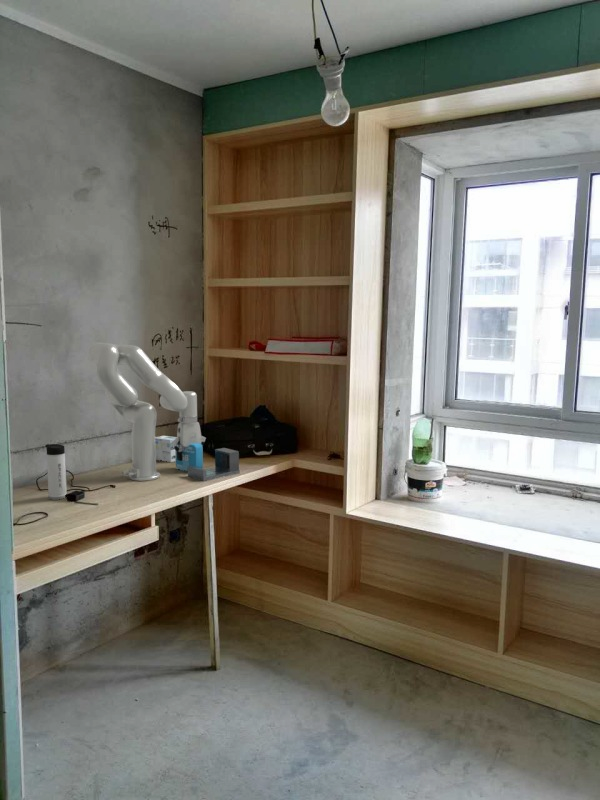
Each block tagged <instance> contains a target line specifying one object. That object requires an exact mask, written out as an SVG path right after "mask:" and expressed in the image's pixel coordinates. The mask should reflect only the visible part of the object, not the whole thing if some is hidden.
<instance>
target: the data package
mask: <svg viewBox="0 0 600 800" xmlns="http://www.w3.org/2000/svg"><path fill="white" fill-rule="evenodd" d="M176 446H178V445H177V443H176ZM203 449H204V448H203V446H202V445H201V444H200V443H196V444H190V445H189V447H183V449H182V451H181V452H182V455H183V460H182V461H179V460H177V451H175V457H176V461H175V468H176V469H177V470H178V469H180V470H179V471H184V470H185V472H188V466H189V465H192V466H195V467H198V468H202V469H204V463H203V462H204V457H203V453H204V451H203Z"/></svg>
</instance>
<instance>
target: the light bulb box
mask: <svg viewBox="0 0 600 800" xmlns="http://www.w3.org/2000/svg"><path fill="white" fill-rule="evenodd" d="M176 438H177V436H169V435H161V436H155V447H156V461H160V460H162V461H161V462H166V461H167V462H168V463H175V462H176V457H175V449H174V448H173V446H172V444H171V442H173V441H174V440H175V439H176ZM167 462H166V463H167Z"/></svg>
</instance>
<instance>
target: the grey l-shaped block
mask: <svg viewBox="0 0 600 800" xmlns="http://www.w3.org/2000/svg"><path fill="white" fill-rule="evenodd" d="M214 451H215V452H214V462H215V463H214V466H215V467H209V468H206V469H205V468H203V469H202V468H198V467H195V466H192V465H189V466H188V471H187V477H189V478H192V479H195V480H198V479H199V481H201V480H202V482H207V481H211V480H215V478H216V479H219V478H220V477H221V478H224V477H223V476H225V477H229V476H228V475H230V476H233V475H239V474H240V473H241V470H240V453H239V452H240V451H238V450H234V449H231V448H226V447H222V448H215V449H214Z"/></svg>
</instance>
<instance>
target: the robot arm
mask: <svg viewBox="0 0 600 800" xmlns="http://www.w3.org/2000/svg"><path fill="white" fill-rule="evenodd" d="M87 349H88V350H87V357H88V358H89V360H90V361H91V362H92V363H94V364H96V368H95V369H96V376H97V379H98V381H99V383H100V384H101V385H102V387H103V388H104V389H105V396H106V399H107V401H108V403H109V404H110V405H111V406H112V407H113V409H115V410H116V411H117V412H118V413H119V414H120V415H121V417H123V418H124V419H125V420H126V421H128V422H130V423H133V424H132V429H131V458H132V460H131V462H132V463H131V464H132V465H131V466H130V468H129V469H128V470H124V471H123V470H122V471H121V476H122V477H125V476H128V479H129V480H132V481H138V482H140V481H141V482H142V481H153V480H156V479H158V478H161V473H160V472H159V471H157V460H156V447H155V437H156V426H157V424H156V423H157V419H158V413H157V409H156V408H155V406H154V405H152V404H151V403H149V402H146V401H142V400H139V394H138V392H137V389H136V388H135V387H134V386H133V384H131V383H130V382H129V381H128V380H127V379H126V377H125V376H123V375H124V374H122V373H121V371H120V370H119V368H118V366H127V367H128V368H129V369H130V370H131V371H132V373H133V374H134V375H135V376H136V377H137V378H138V380H140V382H141V383H142V384H143V385H145V386H146V387H147V388H148V389H151V390H153V391H154V392H156V393H158V394H159V395H160V397H159V404H160V406H161V407H162V408H164V409H165V410H169V411H173V412H178V413H179V416H178V417H179V418H177V422H178V425H177V431H176V432H177V433H176V437H177V438H176V439H175V440H174V441H173V442H171V444H172V446H173V448H174V449H175V451H177V460H179V461H182V460H183V455H182V452H181V451H182V449H183V447H189V445H190V444H196V443H200V444H201V445H202V447H203V446H204V445H205V442H206V439H207V437H205V436H203V435H202V431H201V426H200V422H198V395H197V393H196V392H195V391H190V390H189V391H188V390H185V391H182V390H181V389H180V387H179V386H178V385H177V384H176V383H175V382H174V381H172V380H171V379H170V378H169V377H168V376H167V375H165V373H163V372H162V371H161V370H160V369H159V368H158V367H157V366H156V365H155V363H153V361H152V360H151V359H150V358H149V356H148V354H147V353H146V352H145V351H144V350H143V349H142V348H140V347H139V346H137V345H133V344H132V345H130V344H115V343H108V342H99V341H98V342H93V343H92V344H91V345H90V346H89V347H88V348H87ZM176 443H177V445H178V446H176Z"/></svg>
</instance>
